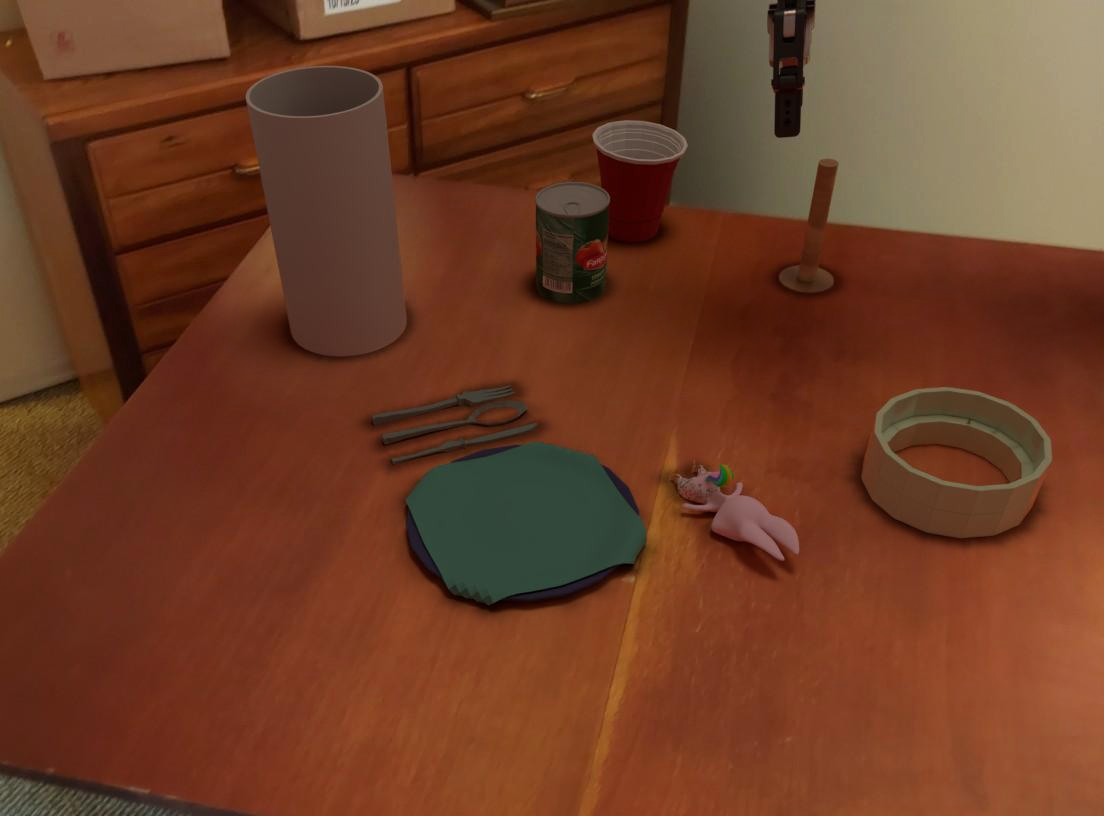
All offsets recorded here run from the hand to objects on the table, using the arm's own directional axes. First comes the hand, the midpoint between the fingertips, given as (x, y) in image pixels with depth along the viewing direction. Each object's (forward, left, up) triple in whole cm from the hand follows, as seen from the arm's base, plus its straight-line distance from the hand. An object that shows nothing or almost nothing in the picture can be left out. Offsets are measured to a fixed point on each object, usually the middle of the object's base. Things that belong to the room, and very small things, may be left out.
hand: (788, 122), depth 97 cm
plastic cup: (-10, -23, -22) cm, 33 cm away
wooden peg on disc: (-12, -1, -22) cm, 25 cm away
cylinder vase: (+26, -35, -22) cm, 49 cm away
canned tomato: (+5, -21, -22) cm, 31 cm away
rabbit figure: (+28, +14, -22) cm, 39 cm away
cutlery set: (+37, -4, -22) cm, 43 cm away
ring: (+12, +26, -22) cm, 36 cm away
